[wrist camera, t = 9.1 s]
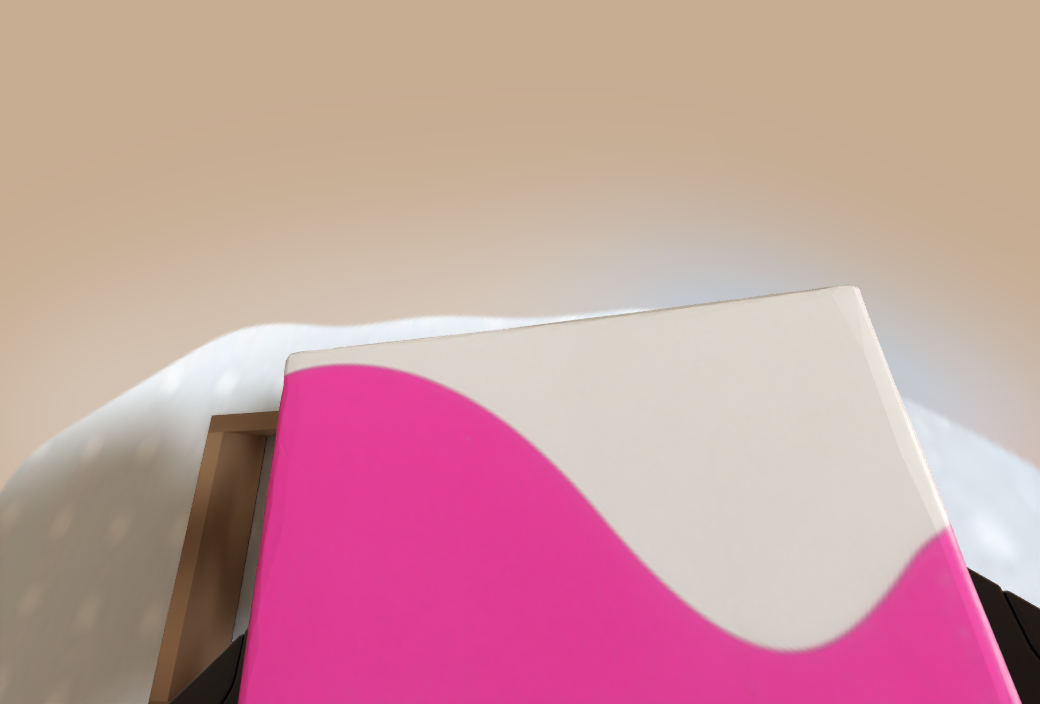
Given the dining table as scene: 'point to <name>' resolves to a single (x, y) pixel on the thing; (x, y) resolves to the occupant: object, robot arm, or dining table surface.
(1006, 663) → the robot arm
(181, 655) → the walnut crate
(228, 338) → the dining table surface
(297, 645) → the supplement box
